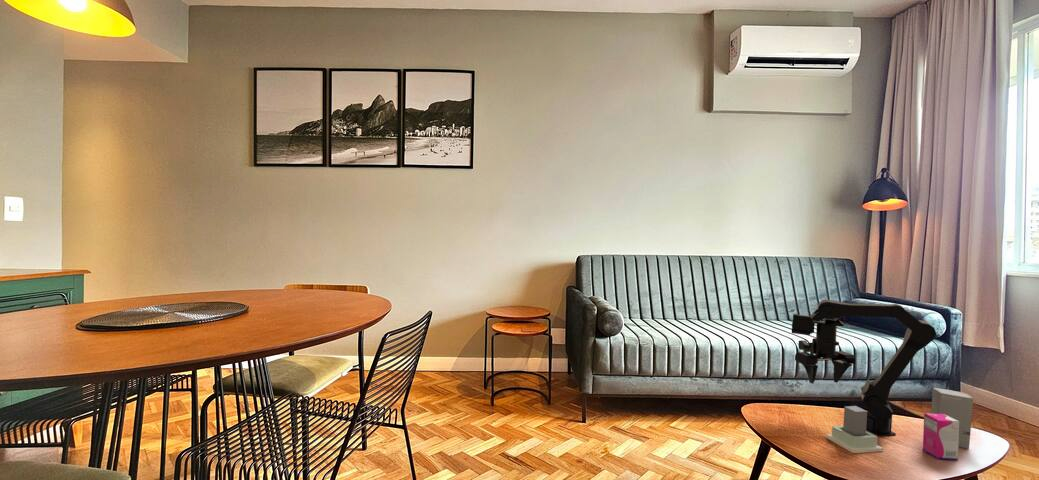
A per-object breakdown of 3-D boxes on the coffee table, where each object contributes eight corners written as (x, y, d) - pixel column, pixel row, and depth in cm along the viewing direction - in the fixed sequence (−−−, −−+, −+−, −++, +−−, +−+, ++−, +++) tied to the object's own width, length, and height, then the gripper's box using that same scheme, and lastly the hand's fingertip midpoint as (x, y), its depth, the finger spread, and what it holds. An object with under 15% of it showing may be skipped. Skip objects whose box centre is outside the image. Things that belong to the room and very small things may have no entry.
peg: (853, 437, 148) (855, 406, 147) (865, 443, 144) (867, 411, 143) (842, 438, 147) (844, 406, 146) (853, 444, 143) (855, 411, 143)
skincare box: (935, 443, 147) (939, 393, 146) (927, 434, 153) (930, 386, 153) (971, 450, 143) (975, 398, 143) (962, 440, 150) (965, 390, 149)
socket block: (854, 436, 151) (854, 423, 151) (882, 451, 141) (883, 438, 141) (826, 437, 149) (826, 425, 149) (853, 453, 140) (853, 439, 139)
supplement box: (942, 451, 142) (944, 413, 142) (958, 461, 136) (961, 421, 136) (921, 449, 143) (923, 412, 142) (936, 459, 137) (939, 420, 136)
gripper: (831, 331, 171) (829, 374, 172) (784, 332, 168) (782, 375, 169) (857, 339, 160) (855, 385, 161) (808, 340, 157) (806, 386, 158)
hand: (823, 382), depth 162 cm, fingers open, 9 cm apart
